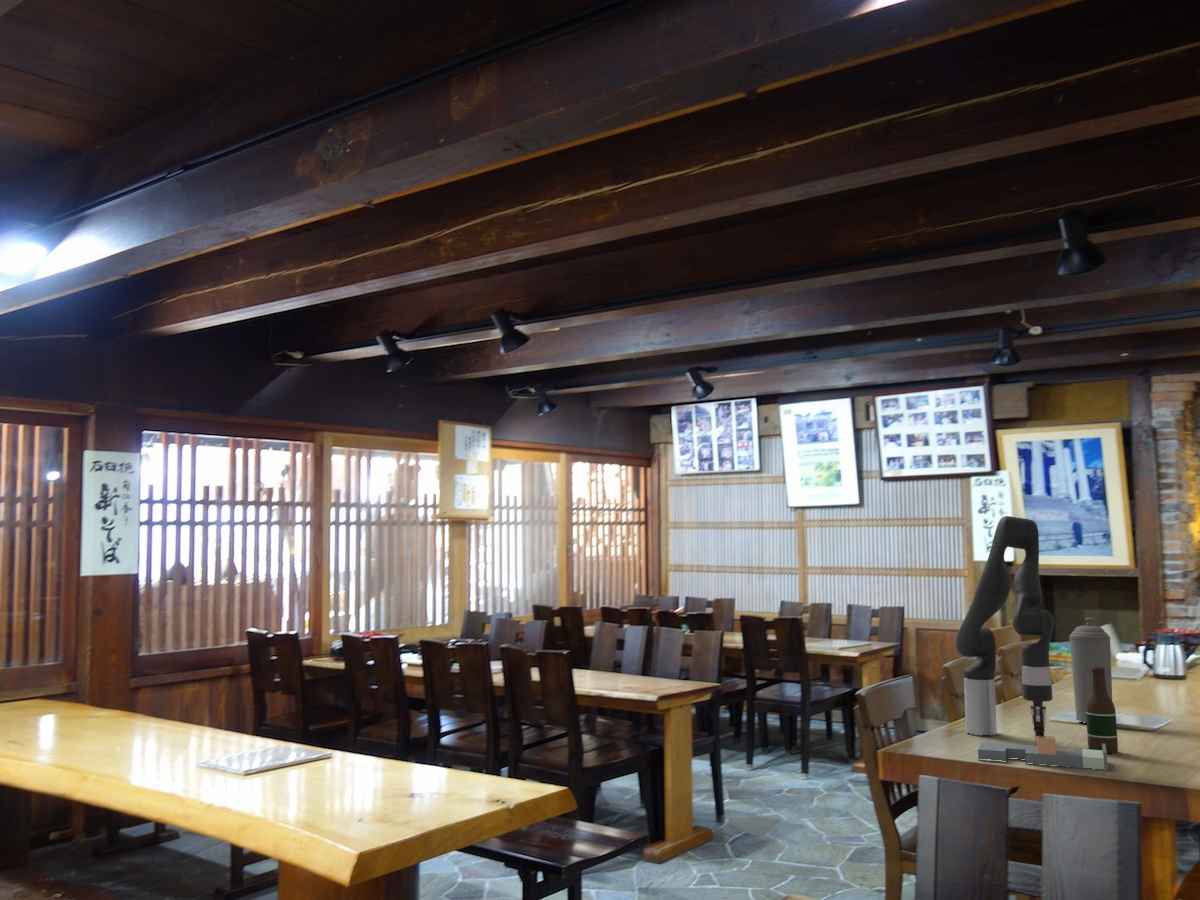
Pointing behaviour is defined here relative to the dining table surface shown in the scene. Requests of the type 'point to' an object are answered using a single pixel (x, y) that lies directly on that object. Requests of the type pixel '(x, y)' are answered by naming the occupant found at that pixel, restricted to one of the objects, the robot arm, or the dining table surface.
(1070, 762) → the board
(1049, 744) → the block
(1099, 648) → the canister
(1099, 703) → the beer bottle
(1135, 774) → the dining table surface
